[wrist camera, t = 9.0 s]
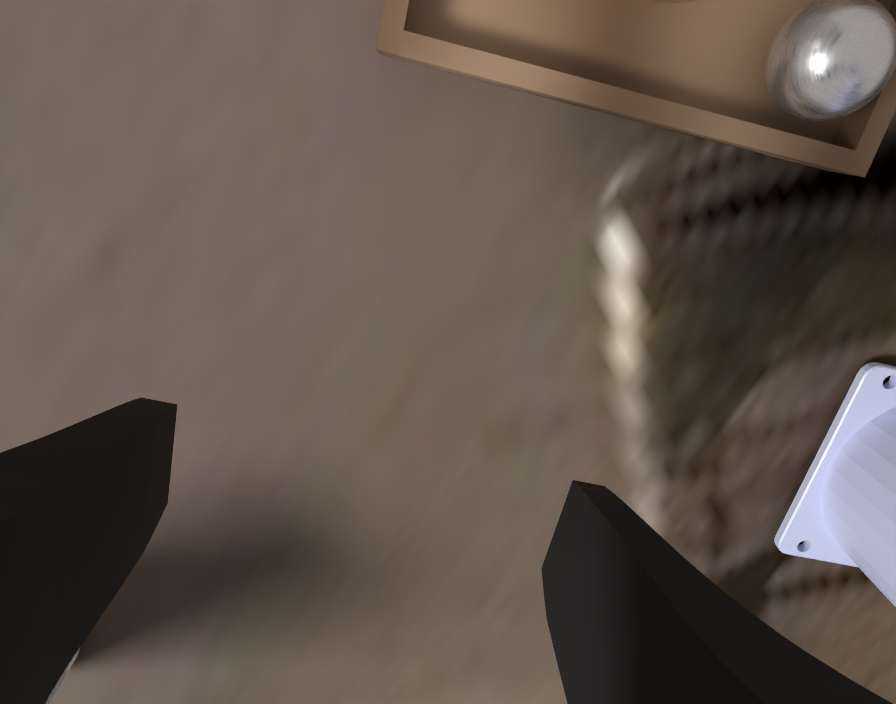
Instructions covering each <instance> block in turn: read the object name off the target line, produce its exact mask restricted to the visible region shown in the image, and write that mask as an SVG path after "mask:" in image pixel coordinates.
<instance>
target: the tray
mask: <svg viewBox="0 0 896 704" xmlns="http://www.w3.org/2000/svg"><path fill="white" fill-rule="evenodd" d="M813 1H815V0H693V1H689V2H685V3H676V4H673V3H661V2H656V1H653V0H384V5H383V11H382V16H381V22H380V27H379V33H378V39H377V44H376V50H377V51H378V52H379V53H380V54H381V55H385V56H389V57H393V58H397V59H400V60H404V61H408V62H412V63H416V64H420V65H423V66H427V67H431V68H435V69H439V70H443V71H446V72H450V73H454V74H458V75H462V76H466V77H469V78H473V79H477V80H481V81H485V82H489V83H492V84H496V85H500V86H504V87H508V88H512V89H515V90H519V91H523V92H527V93H531V94H535V95H538V96H542V97H546V98H550V99H554V100H558V101H561V102H565V103H569V104H573V105H577V106H581V107H584V108H588V109H592V110H596V111H600V112H604V113H607V114H611V115H615V116H619V117H623V118H627V119H630V120H634V121H638V122H642V123H646V124H650V125H653V126H657V127H661V128H665V129H669V130H673V131H676V132H680V133H684V134H688V135H692V136H696V137H699V138H703V139H707V140H711V141H715V142H719V143H722V144H726V145H730V146H734V147H738V148H742V149H745V150H749V151H753V152H757V153H761V154H765V155H768V156H772V157H776V158H780V159H784V160H788V161H791V162H795V163H799V164H803V165H807V166H811V167H814V168H818V169H822V170H827V171H832V172H838V173H844V174H849V175H855V176H860V177H865V176H866V174H867V172H868V170H869V168H870V165H871V163H872V161H873V159H874V157H875V154H876V152H877V150H878V148H879V146H880V143H881V141H882V139H883V137H884V135H885V132H886V130H887V128H888V126H889V124H890V121H891V119H892V117H893V115H894V113H895V110H896V67H895V69H894V72H893V74H892V76H891V78H890V79H889V81H888V82H887V84H886V85H885V87H884V88H883V89H882V90H881V91H880V92H879V93H878V95H877V96H876V97H875V98H873V99H872V100H871V101H870V102H869V103H868V104H866V105H865V106H863V107H862V108H860V109H858V110H857V111H855V112H853V113H851V114H848V115H846V116H843V117H840V118H836V119H832V120H823V121H813V120H807V119H802V118H799V117H796V116H794V115H792V114H790V113H788V112H786V111H785V110H784V109H782V108H781V107H780V106H779V105H778V103H777V102H776V101H775V100H774V98H773V97H772V95H771V93H770V91H769V89H768V85H767V81H766V71H765V69H766V60H767V55H768V52H769V48H770V46H771V44H772V41H773V39H774V38H775V36H776V34H777V32H778V31H779V30H780V28H781V27H782V26H783V25H784V23H785V22H786V21H787V20H788V19H789V18H790V17H791V16H792V15H793V14H794V13H796V12H797V11H798V10H800V9H801V8H803V7H804V6H806V5H807V4H809V3H811V2H813ZM876 1H877V2H879V3H881V4H882V5H883V6H884V7H885V8H886V9H887V10H888V11H889V12H890V14H891V15H892V16H893V18H894V20H895V22H896V0H876Z"/></svg>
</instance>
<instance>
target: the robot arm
mask: <svg viewBox="0 0 896 704" xmlns="http://www.w3.org/2000/svg"><path fill="white" fill-rule="evenodd" d="M890 375H891V376H890ZM888 376H890V379H889V381H888V382H887V383H885V384H883V381H884V379H885V378H886V377H888ZM176 412H177V404H172V403H167V402H162V401H156V400H151V399H146V398H139V399H135V400H132V401H130V402H127V403H124V404H122V405H119V406H117V407H115V408H112V409H110V410H107V411H105V412H103V413H100V414H98V415H95V416H93V417H91V418H88V419H86V420H84V421H81V422H79V423H76V424H74V425H72V426H69V427H67V428H64V429H62V430H59V431H57V432H55V433H52V434H50V435H47V436H45V437H42V438H40V439H37V440H34V441H32V442H29V443H26V444H23V445H21V446H18V447H15V448H12V449H10V450H7V451H4V452H2V453H0V704H45V703H46V702H47V700H48V698H49V696H50V694H51V692H52V691H53V689H54V687H55V686H56V684H57V682H58V681H59V679H60V677H61V676H62V674H63V673H64V671H65V669H66V668H67V666H68V664H69V663H70V661H71V660H72V658H73V657H74V655H75V654H76V653H77V651H78V650H79V648H80V647H81V645H82V644H83V642H84V641H85V639H86V638H87V636H88V635H89V633H90V632H91V630H92V629H93V627H94V626H95V624H96V623H97V621H98V620H99V618H100V617H101V615H102V614H103V612H104V611H105V609H106V608H107V606H108V605H109V604H110V602H111V601H112V599H113V598H114V596H115V595H116V593H117V592H118V590H119V589H120V587H121V586H122V584H123V583H124V581H125V580H126V578H127V577H128V575H129V574H130V572H131V571H132V569H133V568H134V566H135V564H136V563H137V561H138V560H139V558H140V557H141V555H142V554H143V552H144V550H145V548H146V546H147V544H148V542H149V540H150V538H151V536H152V534H153V532H154V530H155V528H156V526H157V524H158V522H159V520H160V518H161V516H162V514H163V512H164V509H165V507H166V505H167V503H168V494H169V483H170V473H171V463H172V453H173V442H174V432H175V422H176ZM774 541H775V545H776V546H777V547H778V548H779V550H780V551H781V552H783V553H785V554H789V555H795V556H800V557H806V558H811V559H817V560H822V561H827V562H833V563H838V564H844V565H849V566H854V567H859V568H860V569H861V570H862V571H863V572H864V573H865V574H866V576H867V577H868V578H869V579H870V580H871V581H872V582H873V583H874V584H875V585H876V586H877V587H878V589H879V590H880V591H881V592H882V593H883V594H884V595H885V596H886V597H887V598H888V599H889V600H890V602H891V603H892V604H893V605H894V606H895V607H896V366H891V365H887V364H882V363H878V362H871V363H868V364H866V365H864V366H863V367H862V368H861V369H860V370H859V372H858V373H857V375H856V377H855V379H854V381H853V383H852V385H851V387H850V389H849V391H848V393H847V395H846V397H845V399H844V401H843V403H842V405H841V407H840V409H839V411H838V413H837V415H836V417H835V419H834V421H833V423H832V425H831V427H830V429H829V431H828V433H827V435H826V437H825V439H824V441H823V443H822V445H821V447H820V449H819V451H818V453H817V455H816V457H815V459H814V461H813V462H812V464H811V466H810V468H809V470H808V472H807V474H806V476H805V478H804V480H803V482H802V484H801V486H800V488H799V490H798V492H797V494H796V496H795V498H794V500H793V502H792V504H791V506H790V508H789V510H788V512H787V514H786V516H785V518H784V520H783V522H782V524H781V526H780V528H779V530H778V532H777V534H776V536H775V539H774ZM802 541H804V542H803V544H801V545H798V544H799V543H800V542H802ZM542 577H543V589H544V599H545V607H546V616H547V621H548V626H549V630H550V634H551V638H552V643H553V647H554V651H555V655H556V659H557V663H558V667H559V671H560V675H561V679H562V683H563V687H564V691H565V695H566V699H567V703H568V704H892V703H891V702H889V701H887V700H885V699H883V698H881V697H880V696H878V695H876V694H874V693H873V692H871V691H869V690H868V689H866V688H864V687H862V686H861V685H859V684H857V683H855V682H854V681H852V680H850V679H849V678H847V677H845V676H844V675H842V674H841V673H839V672H837V671H836V670H834V669H833V668H831V667H829V666H828V665H826V664H825V663H823V662H821V661H820V660H818V659H817V658H815V657H814V656H812V655H810V654H809V653H807V652H806V651H804V650H803V649H801V648H800V647H798V646H797V645H795V644H794V643H792V642H791V641H789V640H788V639H786V638H785V637H783V636H782V635H781V634H779V633H778V632H776V631H775V630H774V629H772V628H771V627H770V626H768V625H767V624H765V623H764V622H763V621H761V620H760V619H759V618H757V617H756V616H754V615H753V614H752V613H750V612H749V611H748V610H746V609H745V608H744V607H742V606H741V605H740V604H738V603H737V602H736V601H735V600H733V599H732V598H731V597H730V596H728V595H727V594H726V593H725V592H724V591H722V590H721V589H720V588H719V587H718V586H716V585H715V584H714V583H713V582H712V581H710V580H709V579H708V578H707V577H706V576H704V575H703V574H702V573H701V572H700V571H698V570H697V569H696V568H695V567H694V566H693V565H692V564H690V563H689V562H688V561H687V560H686V559H685V558H684V557H683V556H681V555H680V554H679V553H678V552H677V551H676V550H675V549H674V548H673V547H672V546H670V545H669V544H668V543H667V542H666V541H665V540H664V539H663V538H662V537H661V536H660V535H659V534H658V533H656V532H655V531H654V530H653V529H652V528H651V527H650V526H649V525H648V524H647V523H646V522H645V521H644V520H643V519H642V518H640V517H639V516H638V515H637V514H636V513H635V512H634V511H633V510H632V509H631V508H630V507H629V506H627V505H626V504H625V503H624V502H623V501H622V500H621V499H620V498H618V497H617V496H616V495H615V494H614V493H613V492H611V491H610V490H609V489H607V488H606V487H605V486H601V485H596V484H590V483H585V482H580V481H575V480H573V481H572V484H571V487H570V490H569V493H568V495H567V498H566V501H565V504H564V507H563V510H562V512H561V515H560V518H559V521H558V524H557V526H556V529H555V532H554V535H553V538H552V540H551V543H550V546H549V549H548V552H547V554H546V557H545V560H544V563H543V566H542Z"/></svg>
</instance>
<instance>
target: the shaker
mask: <svg viewBox="0 0 896 704" xmlns="http://www.w3.org/2000/svg"><path fill="white" fill-rule="evenodd" d="M653 1H656V2H661V3H673V4H676V3H685V2H689V1H693V0H653Z"/></svg>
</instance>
